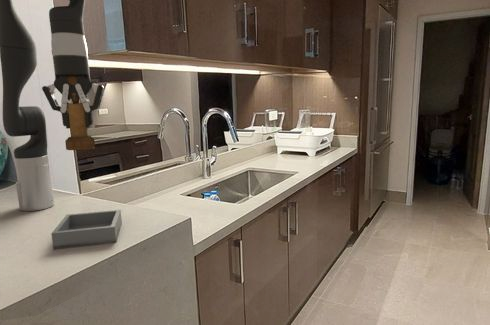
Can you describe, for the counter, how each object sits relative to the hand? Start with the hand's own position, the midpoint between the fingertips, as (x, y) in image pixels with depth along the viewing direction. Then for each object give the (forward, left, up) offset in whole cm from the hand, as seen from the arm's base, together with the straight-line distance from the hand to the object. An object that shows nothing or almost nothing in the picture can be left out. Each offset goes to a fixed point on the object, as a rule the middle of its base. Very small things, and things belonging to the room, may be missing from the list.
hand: (78, 127), depth 84 cm
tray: (0, 0, -28) cm, 28 cm away
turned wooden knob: (0, 0, -5) cm, 5 cm away
